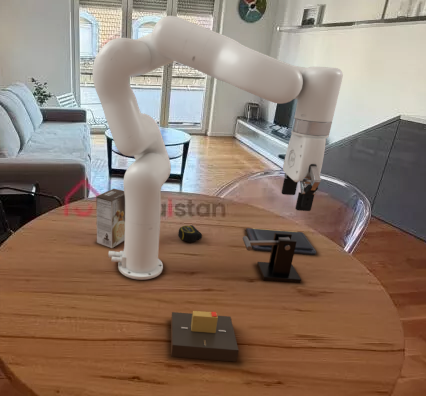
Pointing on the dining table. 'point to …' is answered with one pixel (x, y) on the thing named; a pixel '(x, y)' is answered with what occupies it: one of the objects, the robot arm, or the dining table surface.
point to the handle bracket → (280, 261)
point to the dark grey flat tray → (266, 234)
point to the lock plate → (203, 339)
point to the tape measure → (189, 234)
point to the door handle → (260, 242)
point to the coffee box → (111, 218)
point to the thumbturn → (204, 321)
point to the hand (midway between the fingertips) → (295, 201)
